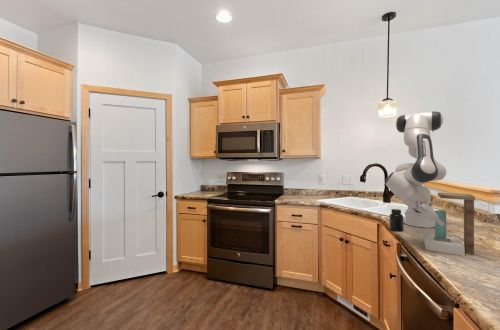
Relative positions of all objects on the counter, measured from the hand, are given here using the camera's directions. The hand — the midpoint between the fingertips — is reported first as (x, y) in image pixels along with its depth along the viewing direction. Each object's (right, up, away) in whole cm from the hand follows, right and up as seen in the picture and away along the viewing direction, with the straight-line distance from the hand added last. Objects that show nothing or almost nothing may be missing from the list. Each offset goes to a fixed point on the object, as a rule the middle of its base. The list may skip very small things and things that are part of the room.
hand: (442, 223), depth 106 cm
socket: (0, -11, 0) cm, 11 cm away
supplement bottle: (-2, -11, +29) cm, 31 cm away
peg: (0, -6, 0) cm, 6 cm away
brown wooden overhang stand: (+4, -11, -3) cm, 12 cm away
